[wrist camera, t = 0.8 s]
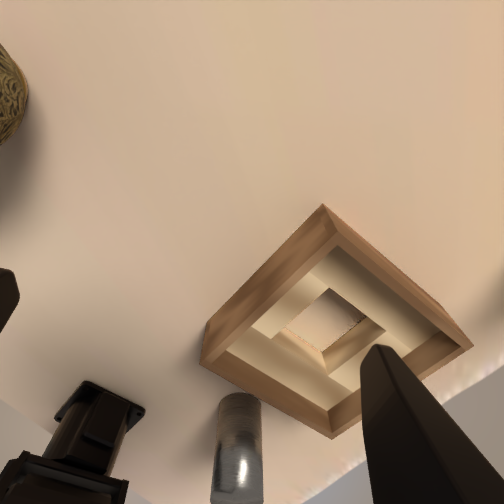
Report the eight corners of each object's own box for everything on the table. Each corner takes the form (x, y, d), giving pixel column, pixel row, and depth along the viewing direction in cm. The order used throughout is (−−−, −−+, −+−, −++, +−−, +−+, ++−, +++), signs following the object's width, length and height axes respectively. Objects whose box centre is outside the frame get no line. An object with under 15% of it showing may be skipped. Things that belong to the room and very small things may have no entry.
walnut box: (321, 393, 31) (331, 439, 27) (206, 322, 27) (199, 364, 23) (440, 305, 26) (474, 345, 22) (322, 203, 23) (337, 231, 19)
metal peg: (243, 425, 33) (240, 519, 26) (211, 408, 32) (199, 502, 25) (269, 405, 32) (274, 498, 25) (236, 386, 31) (232, 479, 24)
